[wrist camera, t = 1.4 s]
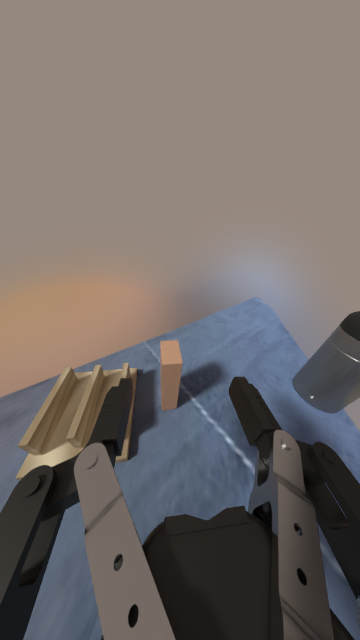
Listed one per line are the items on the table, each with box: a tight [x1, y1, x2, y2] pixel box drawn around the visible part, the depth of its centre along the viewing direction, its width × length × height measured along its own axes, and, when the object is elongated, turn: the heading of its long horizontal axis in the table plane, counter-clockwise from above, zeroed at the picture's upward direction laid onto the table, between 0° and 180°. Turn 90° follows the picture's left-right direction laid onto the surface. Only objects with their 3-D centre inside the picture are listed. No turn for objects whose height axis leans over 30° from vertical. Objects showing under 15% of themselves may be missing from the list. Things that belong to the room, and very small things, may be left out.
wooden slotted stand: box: [16, 363, 137, 480], centre depth 25 cm, size 14×16×6 cm
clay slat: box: [161, 340, 182, 410], centre depth 26 cm, size 3×5×14 cm, turn 9°
